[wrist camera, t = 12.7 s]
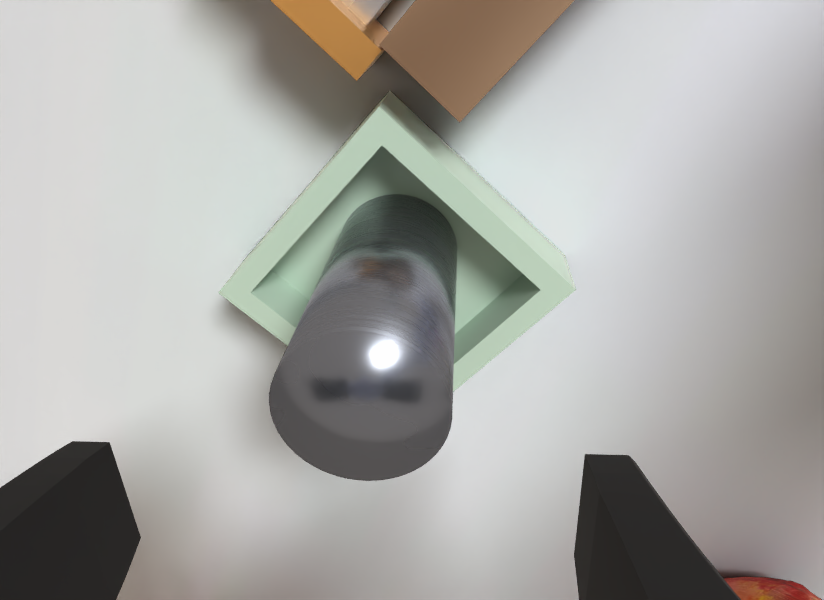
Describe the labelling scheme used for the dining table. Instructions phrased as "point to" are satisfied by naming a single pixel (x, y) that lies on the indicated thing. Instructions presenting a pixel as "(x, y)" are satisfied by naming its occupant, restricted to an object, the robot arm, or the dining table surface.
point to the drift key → (341, 29)
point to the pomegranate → (768, 589)
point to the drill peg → (374, 346)
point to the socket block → (467, 44)
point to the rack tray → (442, 188)
